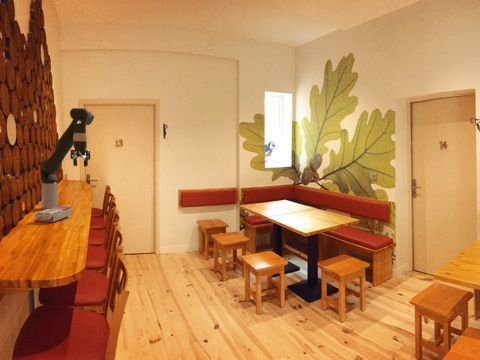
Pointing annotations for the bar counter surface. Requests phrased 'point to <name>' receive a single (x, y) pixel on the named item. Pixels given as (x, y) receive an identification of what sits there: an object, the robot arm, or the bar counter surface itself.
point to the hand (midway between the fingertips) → (80, 166)
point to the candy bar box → (53, 214)
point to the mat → (54, 221)
